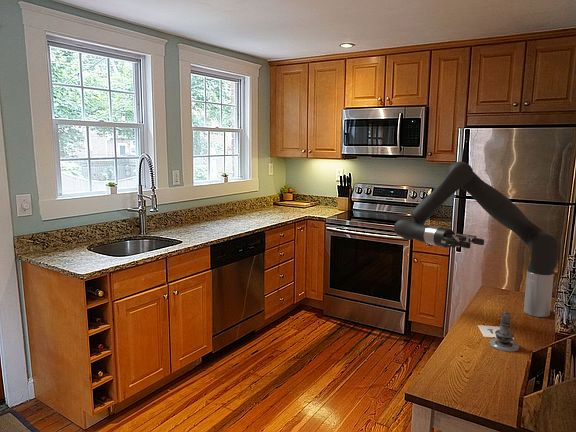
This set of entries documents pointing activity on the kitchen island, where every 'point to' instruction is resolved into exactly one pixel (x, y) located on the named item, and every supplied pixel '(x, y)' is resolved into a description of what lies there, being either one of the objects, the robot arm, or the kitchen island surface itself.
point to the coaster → (507, 349)
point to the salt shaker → (504, 331)
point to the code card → (489, 330)
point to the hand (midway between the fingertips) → (476, 244)
